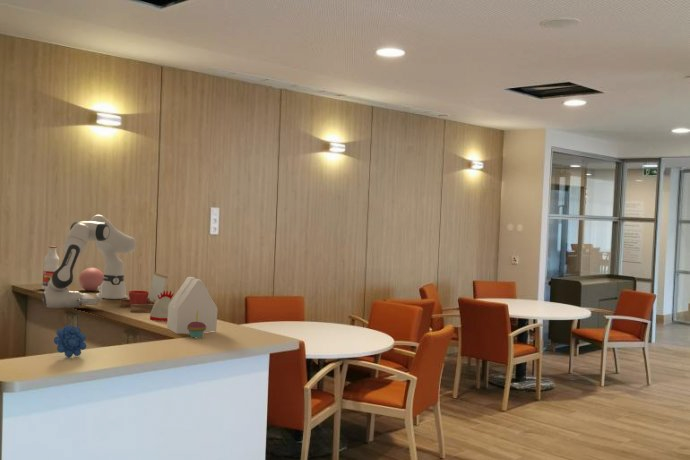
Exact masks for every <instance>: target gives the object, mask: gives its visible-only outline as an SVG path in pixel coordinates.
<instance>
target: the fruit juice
mask: <svg viewBox="0 0 690 460" xmlns="http://www.w3.org/2000/svg"><path fill="white" fill-rule="evenodd" d="M57 249H58V247H57V246H56V245H49V246H48V251H47V254H46V255H45V257H44V260H43V262H44V266H43V268H42V269H43V270H42V271H43V272H42V284H41V285H42V286H41V288H42V290H44V291H45V290H46V288H47V286H48V283H49V281H50V279H51V277H52V275H53V273H54V272H55V271H56V270H57V269H58V268H59V267H60V266H59V264H60V257H59V255H58V253H57Z"/></svg>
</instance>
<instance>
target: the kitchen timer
mask: <svg viewBox="0 0 690 460" xmlns="http://www.w3.org/2000/svg"><path fill="white" fill-rule="evenodd" d="M174 295H175V293H174V292H172V291H171V290H170V291H168V290H166V291H165V290H164V291H163V295H162V293H161V297H159V295H158V298H159V299H158V300H157V301H155V302H156V303H155V304H154V306H153V308H152V311H151V312H150V315H149V320H151V321H155V322H167V321H168V305H169V303H170V302H171V300H172V299H173V297H174Z"/></svg>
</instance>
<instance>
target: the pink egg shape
mask: <svg viewBox="0 0 690 460" xmlns="http://www.w3.org/2000/svg"><path fill="white" fill-rule="evenodd" d="M104 274H105V273H104V272H102V271H101V270H100V269H98V268H97V267H88V268H85V269H84V270H82V272H81V273H80V274H79V278H78V282H79V283H78V284H79V285H80V287H82V289H84V290H85V291H88V292H95V291H99V290H98V286H101V284H102V282H103V276H104Z"/></svg>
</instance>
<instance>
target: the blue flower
mask: <svg viewBox="0 0 690 460" xmlns="http://www.w3.org/2000/svg"><path fill="white" fill-rule="evenodd" d="M56 335H57V336H55V337H54V338H53V343H54V344H55V345H57V347H56V350H57V352H58V353H59V354H60V353H61V354H63V353H64V356H66V357H67V358H70V357H73V355H74V356H77V357H78V356H81V354H82V351H84V350H86V348H87V344H86V342H85V341H86V340H87V336H86V334H85V333H81V329H80V327H79V326H74V327H72V326H71V325H70V324H65V325H64V327H63V328H58V329H57V330H56Z"/></svg>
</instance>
